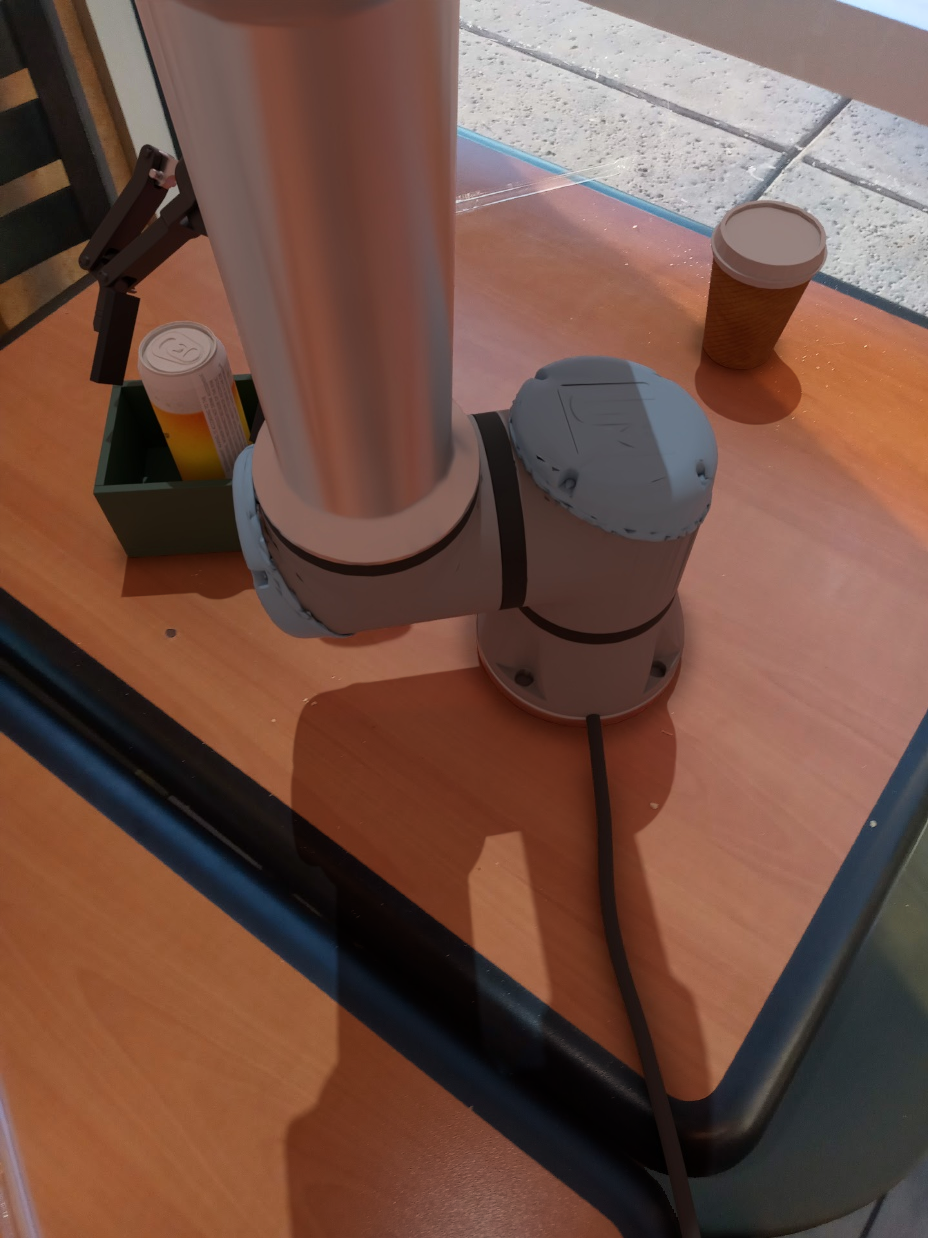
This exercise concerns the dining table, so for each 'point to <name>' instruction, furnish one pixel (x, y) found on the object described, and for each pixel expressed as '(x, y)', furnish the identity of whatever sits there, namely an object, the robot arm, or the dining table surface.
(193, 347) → the beer can
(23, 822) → the dining table surface
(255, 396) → the open rectangular storage bin
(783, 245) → the disposable coffee cup
